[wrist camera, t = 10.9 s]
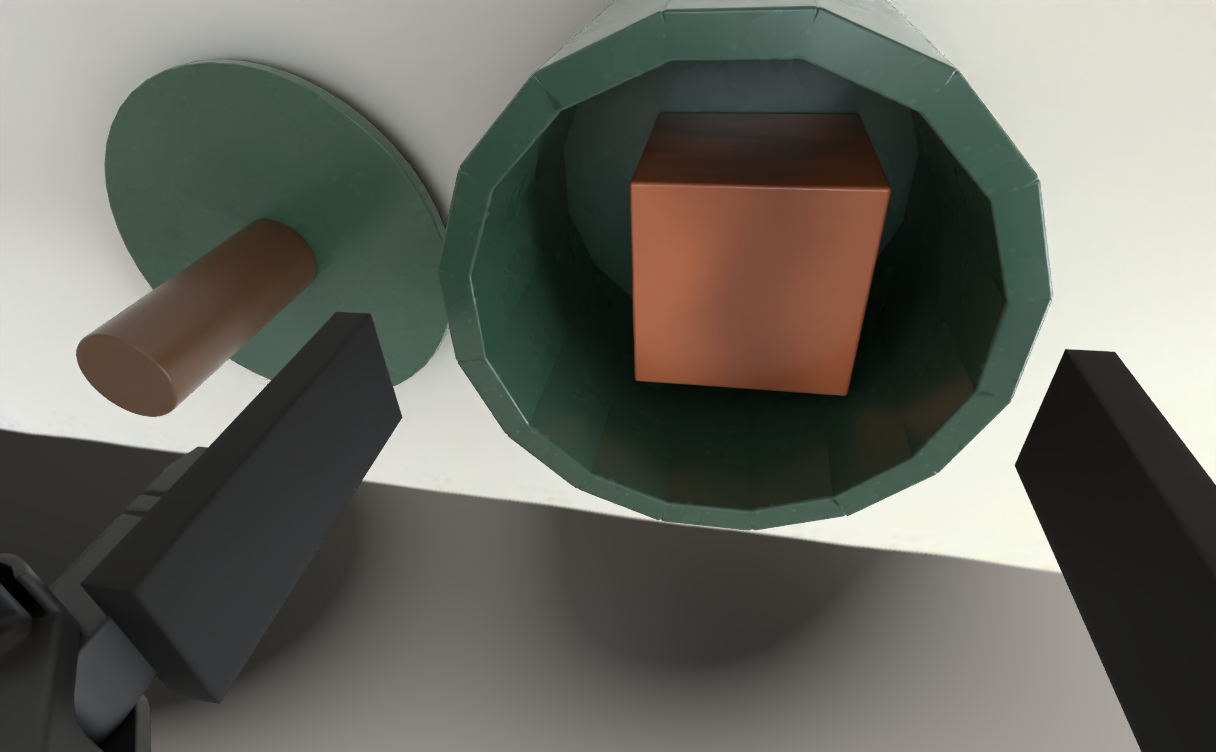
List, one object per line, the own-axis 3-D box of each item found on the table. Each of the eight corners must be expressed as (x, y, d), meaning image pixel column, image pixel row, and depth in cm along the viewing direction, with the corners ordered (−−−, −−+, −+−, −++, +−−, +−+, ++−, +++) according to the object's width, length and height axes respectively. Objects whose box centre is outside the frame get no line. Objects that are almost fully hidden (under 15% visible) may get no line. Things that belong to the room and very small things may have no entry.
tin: (562, 327, 27) (487, 503, 19) (526, -40, 19) (379, 15, 12) (892, 346, 25) (951, 553, 17) (993, -56, 17) (1175, -2, 10)
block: (658, 283, 24) (634, 382, 20) (658, 112, 21) (629, 182, 16) (829, 291, 23) (847, 397, 19) (860, 112, 20) (892, 187, 15)
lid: (212, 369, 32) (53, 514, 25) (59, 56, 24) (-245, 136, 17) (486, 390, 30) (399, 557, 22) (421, 52, 22) (251, 142, 14)
